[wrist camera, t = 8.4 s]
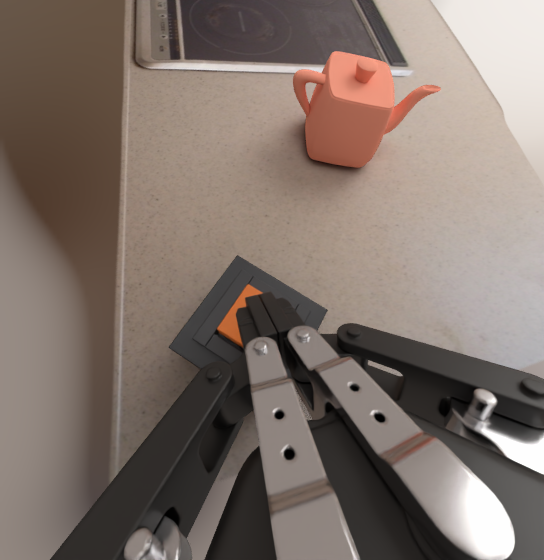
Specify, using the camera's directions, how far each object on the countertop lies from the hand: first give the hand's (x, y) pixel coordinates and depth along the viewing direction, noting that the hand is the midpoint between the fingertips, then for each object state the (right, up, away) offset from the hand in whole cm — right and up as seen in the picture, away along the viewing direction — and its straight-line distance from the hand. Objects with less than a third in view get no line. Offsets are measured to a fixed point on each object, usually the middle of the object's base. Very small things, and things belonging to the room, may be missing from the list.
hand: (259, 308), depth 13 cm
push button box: (-2, -4, +12) cm, 13 cm away
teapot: (+11, +23, +24) cm, 35 cm away
